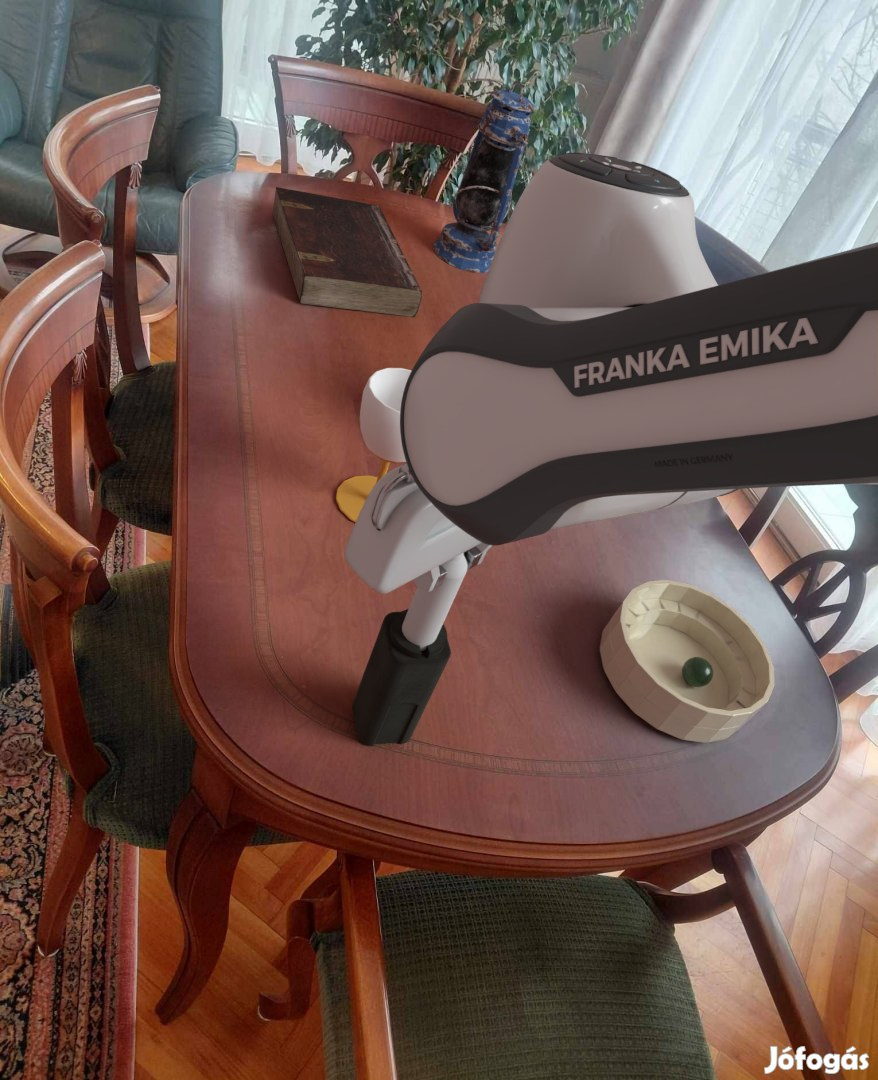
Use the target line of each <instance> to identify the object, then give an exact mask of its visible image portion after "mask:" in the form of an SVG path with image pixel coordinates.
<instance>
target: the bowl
mask: <svg viewBox="0 0 878 1080" xmlns="http://www.w3.org/2000/svg"><path fill="white" fill-rule="evenodd" d="M599 653H600V659H601V663H602V668H603V671H604V673H605V675H606V677H607V679H608V680H609V683H610V684H611V686H612V688H613V690H614V691H615V693H616V694H617V696H619V698H620V699H621V700H622V701H623V702H624V703H625V704H626V706H628V708H629V709H630V710H631V711H632V712H633V713H634V714H635V715H636V716H638V717H640V718H641V719H642V720H644V721H645V722H646V723H647V724H649V725H650V726H652V727H653V728H654V729H656V730H658V731H660V732H663V733H665V734H667V735H670V736H672V737H675V738H677V739H680V740H682V741H690V742H695V743H703V744H708V743H714V742H718V741H724V740H727V739H728V738H730V737H731V736H733V734H735V733H736V732H738V731H739V730H740V729H742V727H744V725H745V724H747V722H749V720H751V719H752V718H753V717H754V716H755V715H756V714H757V713H758V712H759V711H760V710H761V709H762V708H763V707H764V706H765V705H766V704H767V703H768V702H769V700H770V697H771V696H772V693H773V691H774V688H775V667H774V663H773V661H772V658H771V655H770V653H769V650H768V647H767V646H766V643H765V642H764V641H763V639H762V638H761V637H760V635H759V634H758V632H757V631H756V629H755V628H754V627H753V625H752V624H751V623H750V622H749V621H748V620H747V619H745V617H743V616H742V615H741V614H740V613H739V612H738V611H737V610H736V608H734V607H733V606H731V605H729V604H728V603H727V602H726V601H725V600H722V599H721V598H719V597H718V596H716V595H715V594H713V593H711V592H709V591H707V590H705V589H702V588H700V587H697V586H695V585H692V584H690V583H686V582H681V581H675V580H671V579H660V580H648V581H645V582H643V583H641V584H640V585H637V586H635V587H634V588H632V589H631V590H630V592H629V593H628V594H627V595H626V596H625V597H624V599H623V600H622V602H621V603H620V605H619V606H618V607H617V609H616V611H615V613H614V614H613V615H612V617H610V619H609V621H608V622H607V624H606V626H605V627H604V628H603V630H602V631H601V638H600V644H599ZM693 657H701V658H704V659H706V660H707V661H708V662H709V663H710V664H711V666H712V668H713V678H712V680H711V681H710V683H709V684H707V685H706V686H703V687H693V686H691V685H689V684H688V683H687V682H686V681H685V680H684V678H683V676H682V667H683V665H684V663H685V662H686V661H687V660H688V659H690V658H693Z"/></svg>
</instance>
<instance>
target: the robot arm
mask: <svg viewBox="0 0 878 1080" xmlns="http://www.w3.org/2000/svg"><path fill="white" fill-rule="evenodd" d="M695 214H696V212H695V203H694V199H693V196H692V195H691V193H690V192H689V190H688V189H687V188H686V187H685V186H684V185H682V184H681V182H680V181H679V180H678V179H677V178H675V177H674V176H671V175H670V174H668V173H666V172H664V171H662V170H659V169H657V168H654V167H652V166H649V165H646V164H642V163H640V162H636V161H628V160H624V159H621V158H617V157H615V156H611V155H610V156H608V155H605V154H603V155H602V154H595V153H587V152H564V153H561V154H560V155H556V156H553V157H551V158H548V159H547V160H545V161H544V162H543V163H542V164H541V166H539V168H538V169H537V170H536V171H535V173H533V176H532V177H531V179H530V180H529V181H528V183H527V184H526V186H525V187H524V190H523V191H522V193H521V195H520V196H519V199H518V200H517V202H516V204H515V206H514V208H513V210H512V212H511V215H510V216H509V219H508V221H507V223H506V225H505V228H504V230H503V231H502V235H501V236H500V238H499V239H500V240H499V241H498V243H497V248H496V251H495V254H494V257H493V259H492V262H491V265H490V267H489V270H488V272H486V276H485V278H484V281H483V284H482V287H481V290H480V293H479V298H478V302H472V303H469V304H467V305H464V306H463V307H461V308H459V309H458V310H457V311H456V312H455V313H453V315H452V316H451V317H450V318H449V319H447V321H446V322H444V324H443V325H442V326H441V327H440V328H439V330H438V331H437V332H436V333H435V334H434V336H433V337H432V338H431V339H430V340H429V342H428V343H427V345H425V348H423V349H424V350H423V351H422V352H421V354H420V355H419V357H418V358H417V360H416V362H415V364H414V365H413V368H412V369H411V373H410V375H409V378H408V380H407V383H406V385H405V389H404V392H403V397H402V402H401V410H400V433H401V441H402V447H403V452H404V456H405V459H406V462H404V464H401V465H399V466H396V467H395V468H393V469H391V470H389V471H387V473H386V474H385V475H384V476H383V477H382V478H381V479H380V480H379V481H378V482H377V483H376V484H375V486H374V487H373V488H372V490H371V492H370V493H369V495H368V497H367V499H366V501H365V503H364V505H363V507H362V509H361V511H360V513H359V516H358V518H357V520H356V523H355V522H354V524H353V525H354V526H353V528H352V530H351V532H350V535H349V537H348V541H347V543H346V546H345V549H344V558H345V561H346V563H347V564H348V566H349V567H350V568H351V569H352V571H353V572H354V573H355V575H357V576H358V577H359V578H360V580H361V581H362V582H364V583H365V584H366V585H367V586H368V587H369V588H371V589H372V590H373V591H375V592H376V593H377V594H380V595H385V594H389V593H391V592H393V591H394V590H396V589H399V588H400V587H402V586H404V585H405V584H408V583H409V582H411V581H412V582H413V583H414V584H415V586H417V587H419V588H420V589H421V590H422V591H423V592H424V593H428V592H430V591H432V590H434V589H435V588H437V587H439V586H440V585H442V583H443V580H444V578H445V577H446V574H447V571H446V570H445V569H444V568H443V567H442V566H441V565H442V564H444V563H445V562H447V561H449V560H450V559H452V558H454V557H456V556H458V555H460V554H462V553H464V556H465V558H466V561H467V565H468V567H467V571H469V570H471V569H473V568H474V567H477V566H478V565H480V564H482V563H483V560H484V559H485V556H486V555H487V552H488V551H489V550H490V549H491V548H492V546H502V545H506V544H510V543H514V542H517V541H522V540H526V539H530V538H533V537H537V536H541V535H544V534H546V533H547V532H549V531H553V530H558V529H563V528H568V527H574V526H578V525H579V526H580V525H584V524H589V523H594V522H599V521H605V520H609V519H610V520H611V519H614V518H621V517H625V516H630V515H636V514H641V513H646V512H653V511H656V510H663V509H667V508H673V507H677V506H678V507H679V506H683V505H688V504H693V503H697V502H702V501H706V500H710V499H713V498H718V497H724V496H727V495H730V494H732V493H734V492H736V491H739V490H741V489H743V490H744V489H758V488H759V489H762V488H779V487H780V488H782V487H805V486H806V487H807V486H829V485H830V486H832V485H833V486H834V485H878V241H876V242H873V243H869V244H866V245H863V246H858V247H855V248H851V249H848V250H844V251H839V252H837V253H833V254H830V255H826V256H823V257H818V258H815V259H811V260H807V261H804V262H801V263H797V264H793V265H790V266H786V267H782V268H779V269H775V270H771V271H768V272H764V273H761V274H757V275H753V276H749V277H745V278H741V279H737V280H733V281H730V282H726V283H722V284H718V283H717V281H716V279H715V277H714V275H713V273H712V271H711V269H710V268H709V266H708V263H707V261H706V259H705V257H704V255H703V253H702V250H701V247H700V245H699V244H700V243H699V241H698V240H699V239H698V236H697V230H696V229H697V228H696V215H695Z"/></svg>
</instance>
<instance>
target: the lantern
mask: <svg viewBox="0 0 878 1080" xmlns="http://www.w3.org/2000/svg"><path fill="white" fill-rule="evenodd" d="M516 85H517V86H518V87H519V88H520V90H519V93H518V92H514V91H513V90H514V89H515V86H516ZM523 94H524V85H523V83H521V82H519V80H515V81H513V83H512V84H511V87H510V88H509V87H507V88H506V89H499V90H492V91H491V92H490V96H491V98H492V100H491V101H489V102H488V103H487V105H486V109H485V111H484V114H483V115H482V118H481V120H480V122H479V123H478V124H477V129H478V131H477V134H476V137H475V139H474V143H473V145H472V150H471V151H470V154H469V158H468V160H467V164H466V166H465V169H464V172H463V174H462V178H461V181H460V184H459V186H458V188H457V190H456V192H455V194H454V196H453V199H452V200H453V202H452V203H453V204H452V212H453V216H454V218H455V221H456V222H450V223H446V224H445V225H444V226H443V227H442V230H441V233H440V236H439V237H438V238H437V239H436V240H435V242H433V243H432V251H433V252H434V253H435V255H436V256H437V257H438V259H440V260H442V261H443V262H444V263H446V264H447V265H449V266H452V267H454V268H457V269H459V270H461V271H465V272H470V273H472V274H473V273H475V274H487V273H488V270H489V267H490V265H491V262H492V259H493V257H494V254H495V251H496V249H497V246H498V239H499V236H500V232H501V229H502V225H503V222H504V220H505V218H506V217H507V215H508V213H509V211H510V207H511V203H512V194H513V193H512V192H513V189H514V185H515V182H516V179H517V175H518V172H519V168H520V165H521V162H522V159H523V155H524V152H525V148H526V146H528V144H529V138H528V137H529V134H530V132H529V131H530V127H531V125H532V120H531V118H530V117H531V115H532V112H533V113H534V112H535V111H536V110H537V108H536V106H535V104H534V103H532V101H531V100H530V99H529V98H528V97H525V96H524V95H523ZM489 231H490V233H489Z"/></svg>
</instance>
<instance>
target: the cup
mask: <svg viewBox="0 0 878 1080" xmlns="http://www.w3.org/2000/svg"><path fill="white" fill-rule="evenodd" d="M411 371H412V369H407V368H403V367H386V368H383V369H379V370H376V371H375V372H374V373H373V374H371V376H370V377H369V378H368V379H367V382H366V384H365V387H364V388H363V391H362V395H361V401H360V411H359V427H360V432H361V437H362V439H363V442H364V444H365V446H366V448H367V449H368V450H369V451H370V452H371V453H372V454H373V455H374V456H376V458H378V459H379V460H381V465H380V468H379V472H378V475H377V476H374V475H370V474H369V475H355V476H352V477H350V478H347V479H345V480H343V481H342V482H341V484H340V485H339V486H338V487H337V489H336V493H335V494H336V495H335V502H336V504H337V507H338V508H339V511H340V512H341V513H342V514H343V515H345V517H346V518H347V519H349V520H350V521H351V522H353V523H354V524H355V523H356V520H357V518H358V516H359V513H360V511H361V509H362V507H363V505H364V503H365V501H366V499H367V497H368V495H369V493H370V492H371V490H372V488H373V487H374V486H375V484H376V483H377V482H378V481H379V480H380V479H381V478H382V477H383V476H384V475H385V474H387V473H388V470H389V467H390V464H400V463H407V462H406V459H405V456H404V452H403V447H402V441H401V433H400V410H401V402H402V397H403V392H404V389H405V385H406V383H407V380H408V378H409V375H410V373H411Z"/></svg>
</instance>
